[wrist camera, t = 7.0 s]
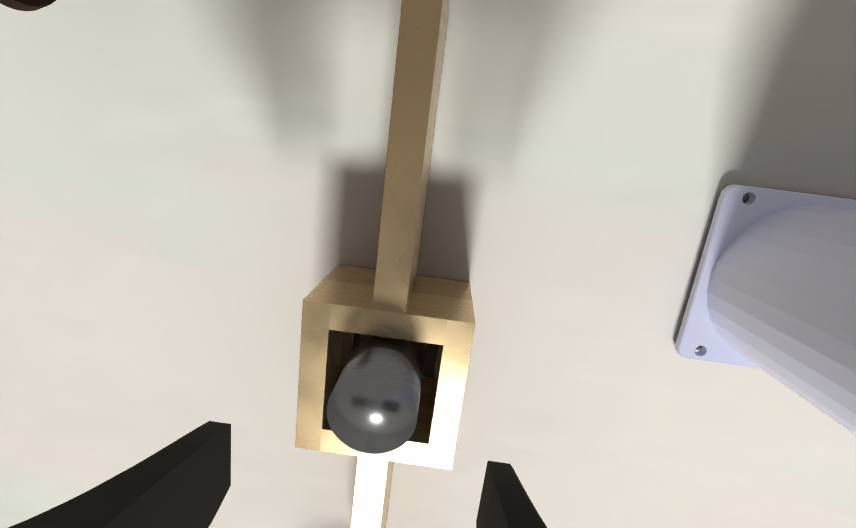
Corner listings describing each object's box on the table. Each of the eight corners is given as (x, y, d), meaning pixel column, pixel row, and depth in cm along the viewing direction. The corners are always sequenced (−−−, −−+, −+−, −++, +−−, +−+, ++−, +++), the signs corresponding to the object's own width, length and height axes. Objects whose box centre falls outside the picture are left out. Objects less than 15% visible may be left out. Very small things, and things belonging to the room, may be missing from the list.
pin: (426, 359, 21) (414, 457, 14) (366, 354, 21) (326, 449, 15) (430, 302, 20) (419, 377, 14) (367, 297, 21) (326, 370, 14)
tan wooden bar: (510, 22, 17) (532, -29, 12) (424, 567, 24) (417, 670, 20) (357, 3, 17) (321, -54, 12) (317, 552, 25) (284, 649, 20)
